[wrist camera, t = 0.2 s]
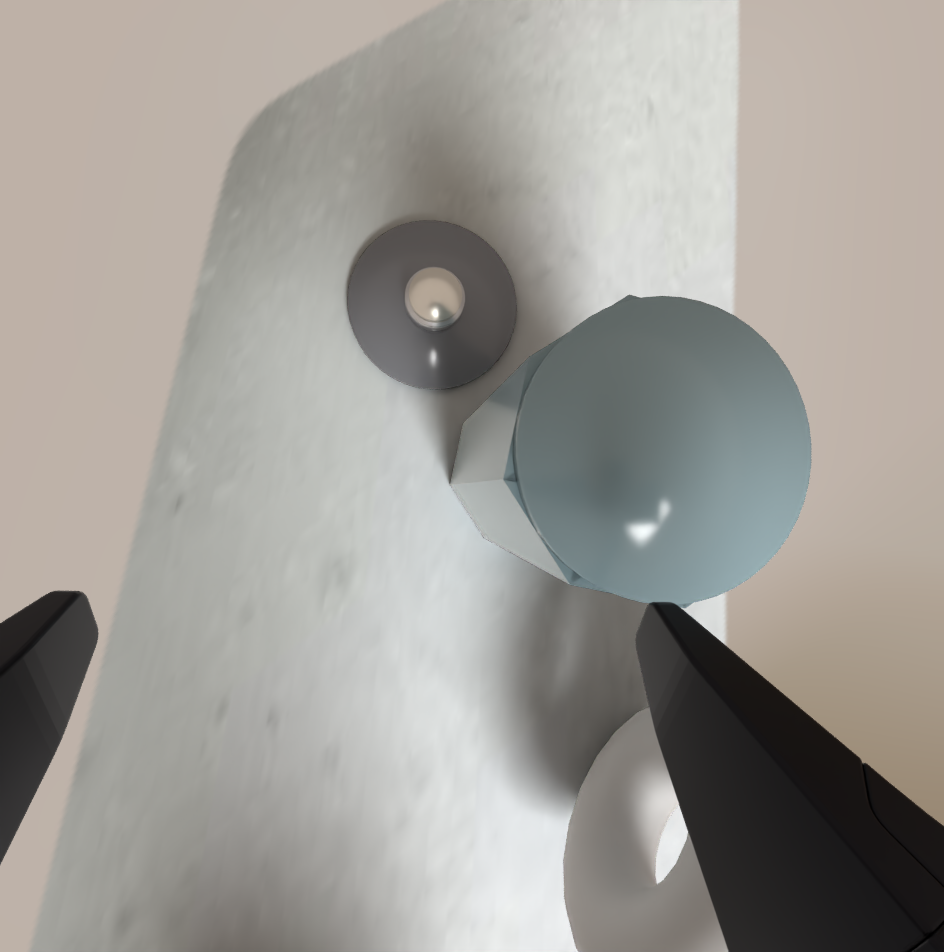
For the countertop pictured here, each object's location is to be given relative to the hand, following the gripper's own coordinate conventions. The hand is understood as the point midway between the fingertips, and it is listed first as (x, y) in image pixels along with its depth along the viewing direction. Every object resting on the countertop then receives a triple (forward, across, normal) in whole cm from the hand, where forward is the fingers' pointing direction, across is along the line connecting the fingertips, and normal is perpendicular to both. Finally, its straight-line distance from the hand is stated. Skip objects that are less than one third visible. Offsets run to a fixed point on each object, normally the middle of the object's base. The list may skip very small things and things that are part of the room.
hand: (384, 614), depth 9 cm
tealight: (+17, -1, 0) cm, 17 cm away
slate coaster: (+17, -1, 0) cm, 17 cm away
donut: (+7, -10, +16) cm, 20 cm away
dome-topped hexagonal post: (+14, -6, +6) cm, 16 cm away
